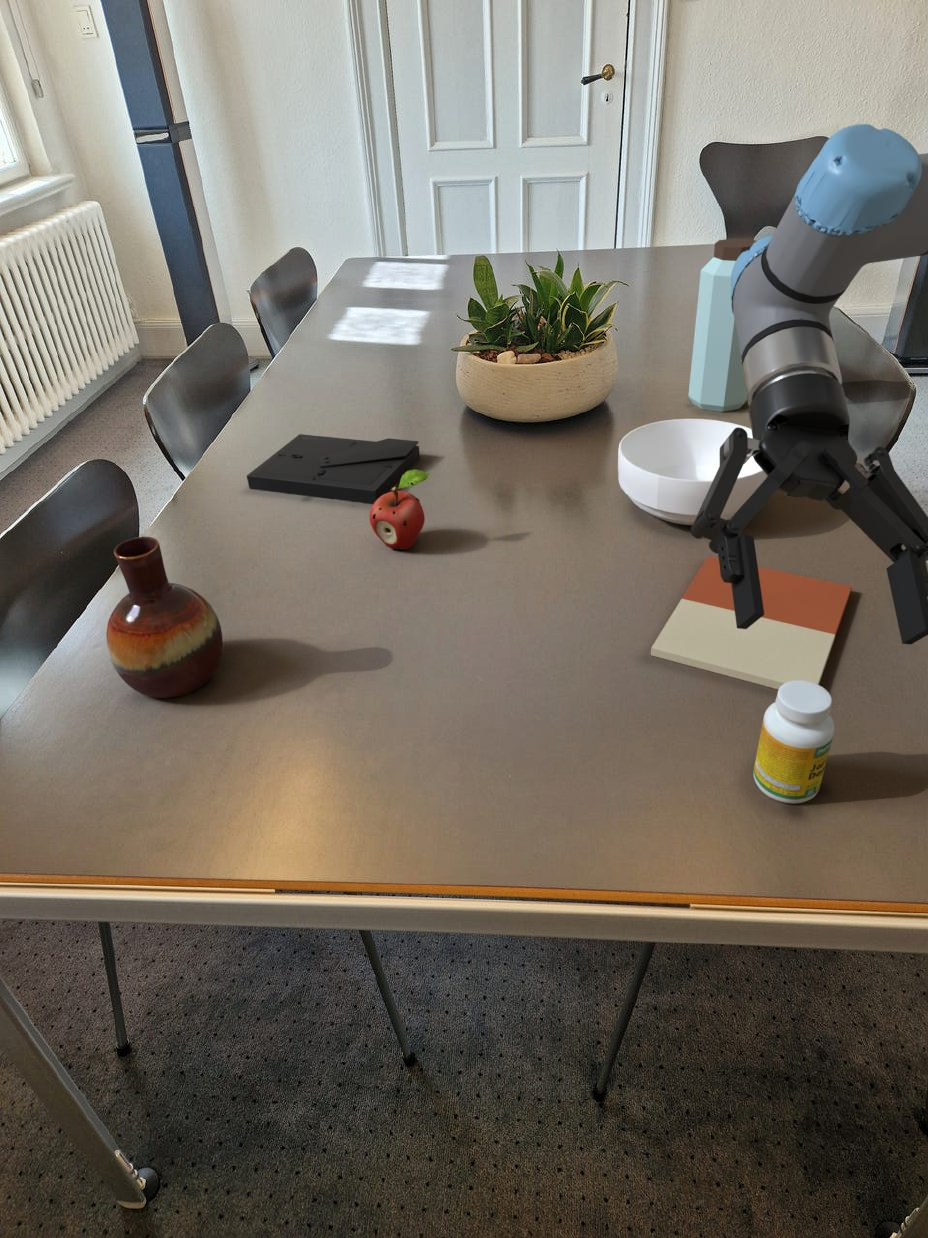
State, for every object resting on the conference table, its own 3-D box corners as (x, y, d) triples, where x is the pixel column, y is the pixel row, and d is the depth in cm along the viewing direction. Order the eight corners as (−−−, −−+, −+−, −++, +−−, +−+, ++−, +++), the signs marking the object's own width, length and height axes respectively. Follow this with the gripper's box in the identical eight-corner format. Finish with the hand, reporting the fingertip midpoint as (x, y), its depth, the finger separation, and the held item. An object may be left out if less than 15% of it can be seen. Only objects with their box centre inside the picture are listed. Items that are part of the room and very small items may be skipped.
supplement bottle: (762, 752, 75) (779, 666, 69) (826, 773, 72) (849, 686, 67) (744, 791, 71) (760, 704, 66) (810, 815, 69) (833, 726, 63)
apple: (388, 564, 105) (379, 491, 99) (364, 542, 110) (355, 471, 104) (442, 546, 108) (436, 473, 102) (417, 525, 113) (410, 455, 107)
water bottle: (712, 387, 148) (730, 233, 134) (761, 401, 142) (785, 240, 127) (675, 403, 143) (689, 244, 129) (724, 418, 137) (745, 252, 122)
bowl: (792, 497, 113) (803, 437, 109) (727, 560, 101) (736, 496, 96) (660, 463, 124) (665, 408, 119) (587, 517, 112) (589, 457, 107)
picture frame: (420, 458, 130) (301, 446, 137) (418, 441, 129) (298, 429, 135) (376, 504, 118) (249, 488, 125) (374, 485, 117) (245, 470, 123)
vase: (176, 722, 82) (132, 589, 74) (98, 691, 87) (48, 562, 78) (252, 659, 90) (220, 531, 81) (176, 633, 95) (139, 510, 86)
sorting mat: (850, 593, 94) (852, 586, 94) (813, 699, 80) (815, 691, 80) (707, 563, 101) (707, 555, 100) (650, 655, 87) (651, 647, 86)
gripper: (899, 442, 77) (950, 661, 68) (637, 407, 73) (656, 634, 64) (957, 389, 70) (1022, 624, 61) (672, 347, 66) (699, 592, 57)
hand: (835, 630), depth 63 cm, fingers open, 13 cm apart
